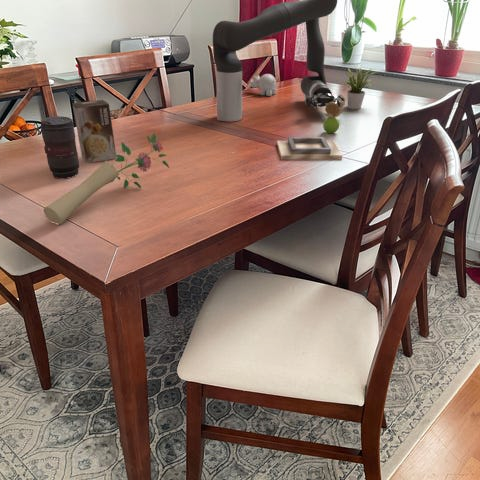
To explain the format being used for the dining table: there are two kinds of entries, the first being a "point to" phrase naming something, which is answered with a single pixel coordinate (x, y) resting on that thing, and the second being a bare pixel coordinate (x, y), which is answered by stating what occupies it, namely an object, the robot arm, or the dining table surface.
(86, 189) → the flower vase
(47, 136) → the camera lens
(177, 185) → the dining table surface
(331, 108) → the snail figurine
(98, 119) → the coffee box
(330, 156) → the board
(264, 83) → the round bodied animal figurine
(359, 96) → the house plant
